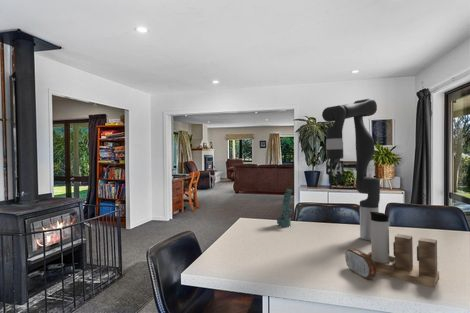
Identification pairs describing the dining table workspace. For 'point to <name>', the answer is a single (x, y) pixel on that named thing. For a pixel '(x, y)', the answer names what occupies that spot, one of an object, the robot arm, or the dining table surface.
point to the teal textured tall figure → (285, 210)
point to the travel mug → (380, 237)
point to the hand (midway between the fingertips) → (335, 183)
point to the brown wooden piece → (403, 261)
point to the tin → (360, 263)
